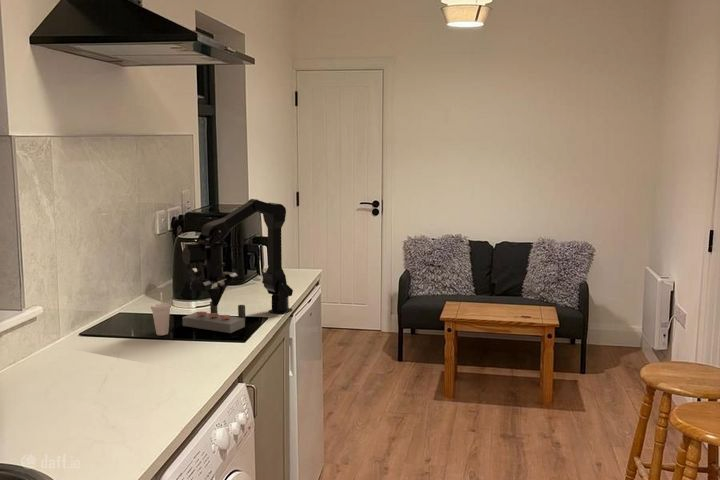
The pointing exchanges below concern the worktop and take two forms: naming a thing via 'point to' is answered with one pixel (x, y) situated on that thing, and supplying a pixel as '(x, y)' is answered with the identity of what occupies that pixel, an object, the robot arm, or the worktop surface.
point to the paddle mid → (213, 315)
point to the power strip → (213, 322)
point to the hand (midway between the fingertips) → (215, 305)
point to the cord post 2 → (241, 311)
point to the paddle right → (225, 316)
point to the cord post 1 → (213, 308)
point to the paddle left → (201, 313)
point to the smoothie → (161, 316)
